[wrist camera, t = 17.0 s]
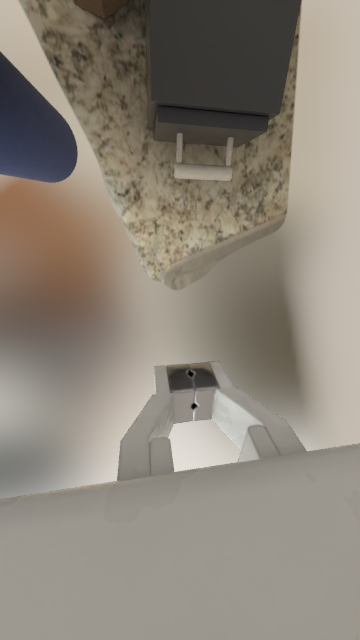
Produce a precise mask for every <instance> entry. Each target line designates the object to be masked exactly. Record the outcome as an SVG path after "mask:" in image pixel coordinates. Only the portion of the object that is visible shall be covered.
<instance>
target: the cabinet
mask: <svg viewBox="0 0 360 640" xmlns="http://www.w3.org/2000/svg"><path fill="white" fill-rule="evenodd" d="M144 1H145V34H146V68H147V101H148V129H149V130H153V128H154V123H155V117H156V112H157V106H159V105H166V106H176V107H186V108H196V109H206V110H216V111H226V112H235V113H245V114H247V115H257V116H267V117H269V120H270V119H272V118H274V117H275V116H277V115H279V114H280V109H281V104H282V98H283V93H284V88H285V83H286V77H287V72H288V67H289V61H290V56H291V51H292V46H293V40H294V35H295V30H296V25H297V19H298V14H299V9H300V3H301V0H144Z"/></svg>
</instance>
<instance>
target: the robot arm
mask: <svg viewBox="0 0 360 640" xmlns="http://www.w3.org/2000/svg"><path fill="white" fill-rule="evenodd" d="M154 380H155V382H154V383H155V395H152V397H151V398H150V400H149V401H148V402H147V404H146V405H145V407H144V408H143V410H142V411H141V413H140V414H139V415H138V417H137V418H136V420H135V421H134V423H133V424H132V426H131V427H130V428H129V430H128V431H127V433H126V434H125V436H124V437H123V439H122V440H121V445H120V455H119V466H118V478H117V481H114V482H108V483H101V484H95V485H88V486H82V487H75V488H69V489H63V490H56V491H49V492H43V493H36V494H30V495H24V496H17V497H11V498H5V499H0V640H360V443H359V444H353V445H346V446H341V447H333V448H328V449H321V450H315V451H308V452H307V451H306V450H305V448H304V446H303V445H302V443H301V442H300V440H299V439H298V437H297V436H296V434H295V433H294V431H293V430H292V428H291V426H290V425H289V424H288V422H287V420H285V419H284V418H282V417H280V416H279V415H278V414H276V413H275V412H273V411H272V410H270V409H269V408H267V407H266V406H264V405H263V404H261V403H260V402H258V401H257V400H256V399H254V398H253V397H251V396H250V395H248V394H246V393H245V392H244V391H242V390H241V389H239V388H238V387H233V386H232V384H231V382H230V380H229V378H228V376H227V374H226V372H225V370H224V368H223V366H222V364H221V362H220V361H213V362H205V363H193V364H178V365H166V366H165V365H164V366H154ZM208 419H212V421H213V422H214V423H215V424H216V425H217V426H218V427H219V428H220V429H221V430H222V431H223V432H224V433H225V434H226V435H227V436H228V437H229V438H230V439H231V440H232V441H233V443H234V444H235V445H236V446H237V447H238V448H239V449H240V450H241V453H240V456H239V460H238V462H237V463H230V464H224V465H218V466H211V467H204V468H198V469H192V470H185V471H179V472H174V467H173V459H172V452H171V444H170V439H168V436H169V434H170V431H171V429H172V427H173V424H175V423H182V422H189V421H197V420H208Z"/></svg>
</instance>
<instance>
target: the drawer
mask: <svg viewBox="0 0 360 640" xmlns="http://www.w3.org/2000/svg"><path fill="white" fill-rule="evenodd" d="M268 121H269V117H267V116H257V115H247V114H245V113H235V112H226V111H216V110H206V109H196V108H186V107H176V106H166V105H159V106H157V112H156V117H155V123H154V128H153V132H154V141H168V142H177V154H176V163H175V165H174V178H179V179H199V180H219V181H230V180H231V178H232V173H233V169H232V167H231V158H232V149H233V147H239V146H241V145H242V144H244V143H246V142H248V141H250V140H252V139H254V138H256V137H258V136H259V135H261V134H263V133H265V132H267V127H268ZM182 143H194V144H207V145H220V146H227V148H226V157H225V166H214V165H198V164H182Z"/></svg>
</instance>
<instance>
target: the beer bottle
mask: <svg viewBox="0 0 360 640" xmlns="http://www.w3.org/2000/svg"><path fill="white" fill-rule="evenodd" d="M74 2H75V4H76V5H78V6H80V7H82V8H84V9H86V10H88V11H90V12H92V13H94V14H95V15H97V16H99V17H101V18H103V19H106V18H108V17H109V16H110V15H111V14H113V13H114V12H115V11H117V10H118V9H119V8H120V7H122V6H123V5H124V4H125V3H127V2H128V0H74Z"/></svg>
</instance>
